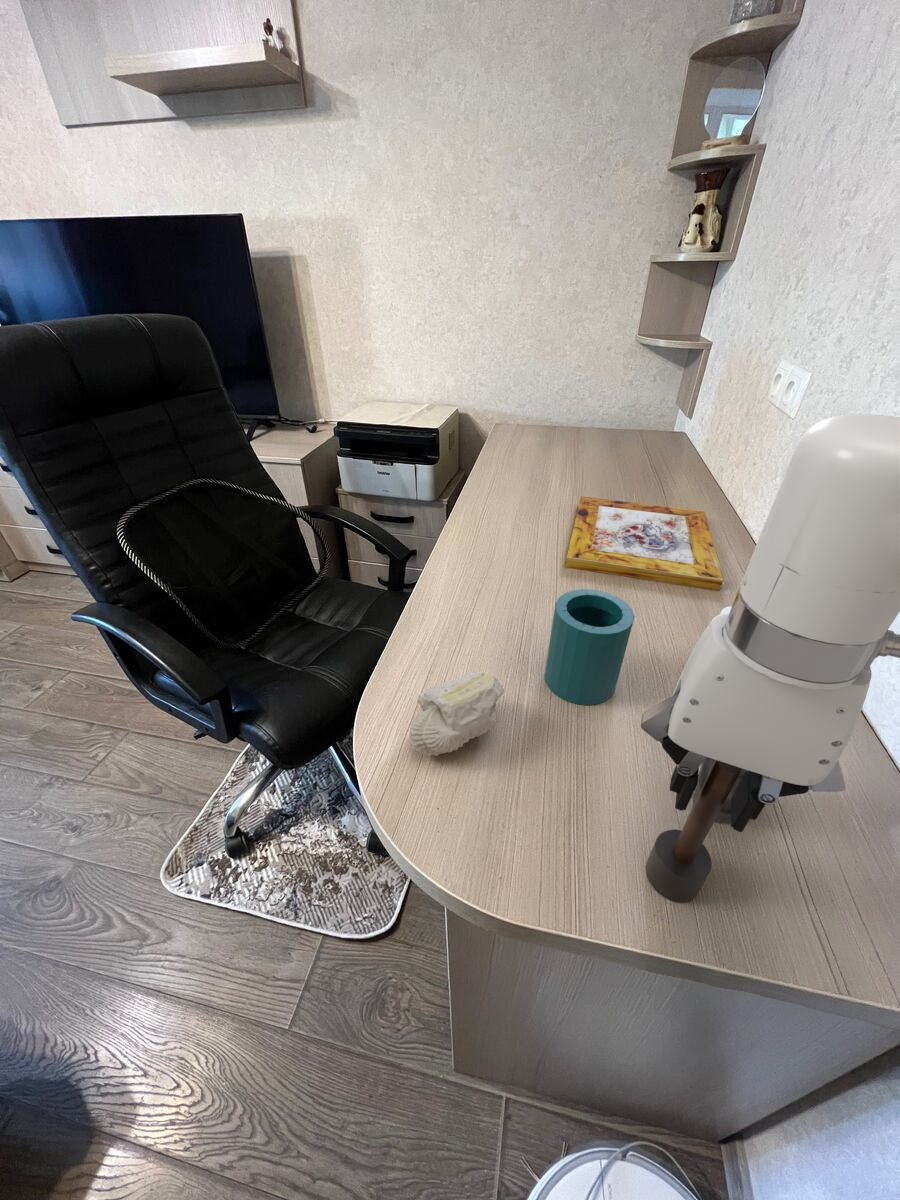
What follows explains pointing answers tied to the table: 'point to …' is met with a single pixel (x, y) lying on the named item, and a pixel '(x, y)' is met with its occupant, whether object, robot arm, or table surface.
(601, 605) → the jar
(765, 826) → the table surface
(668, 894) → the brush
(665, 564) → the picture frame
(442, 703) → the fossil replica
